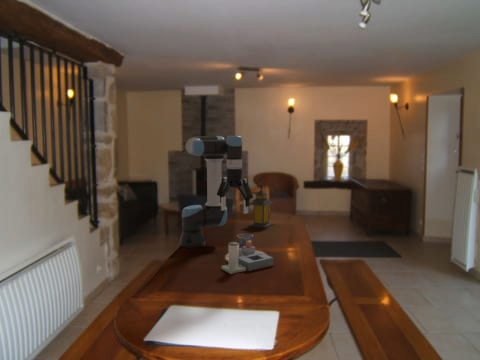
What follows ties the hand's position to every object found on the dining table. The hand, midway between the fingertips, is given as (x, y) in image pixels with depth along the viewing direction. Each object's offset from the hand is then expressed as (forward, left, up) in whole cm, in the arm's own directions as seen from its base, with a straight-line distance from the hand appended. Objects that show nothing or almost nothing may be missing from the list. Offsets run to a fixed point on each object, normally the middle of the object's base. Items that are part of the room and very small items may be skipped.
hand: (234, 211), depth 200 cm
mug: (-18, +19, -29) cm, 39 cm away
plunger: (-9, +15, -23) cm, 29 cm away
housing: (-3, +12, -29) cm, 31 cm away
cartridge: (+1, -1, -28) cm, 28 cm away
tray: (+1, -1, -29) cm, 29 cm away
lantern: (-69, +68, -29) cm, 101 cm away
